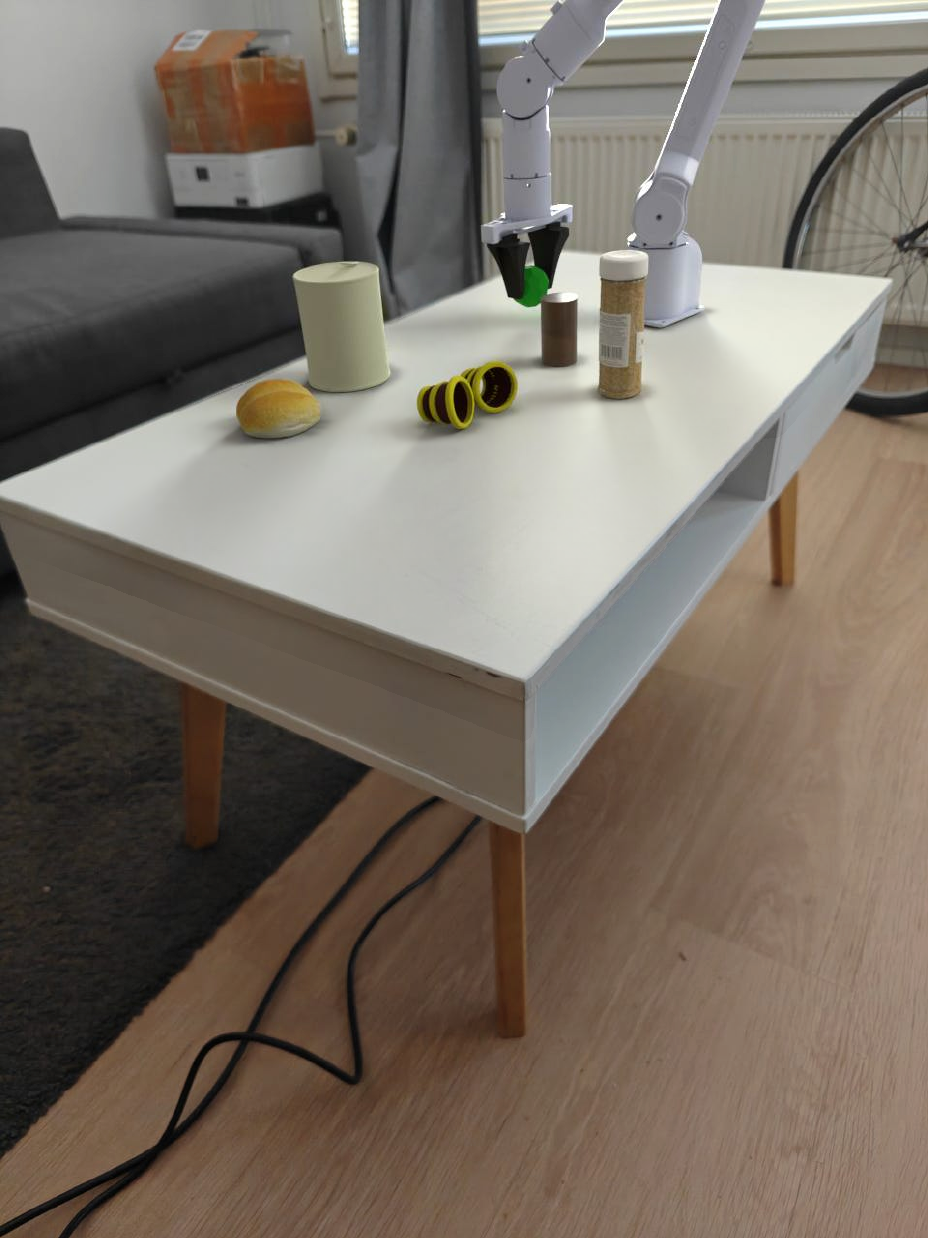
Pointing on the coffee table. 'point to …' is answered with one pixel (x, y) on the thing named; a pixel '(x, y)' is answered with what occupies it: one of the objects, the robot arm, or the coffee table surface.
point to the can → (342, 325)
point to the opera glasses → (468, 395)
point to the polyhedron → (533, 286)
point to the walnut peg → (559, 329)
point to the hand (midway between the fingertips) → (530, 292)
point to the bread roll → (277, 409)
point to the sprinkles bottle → (621, 322)
